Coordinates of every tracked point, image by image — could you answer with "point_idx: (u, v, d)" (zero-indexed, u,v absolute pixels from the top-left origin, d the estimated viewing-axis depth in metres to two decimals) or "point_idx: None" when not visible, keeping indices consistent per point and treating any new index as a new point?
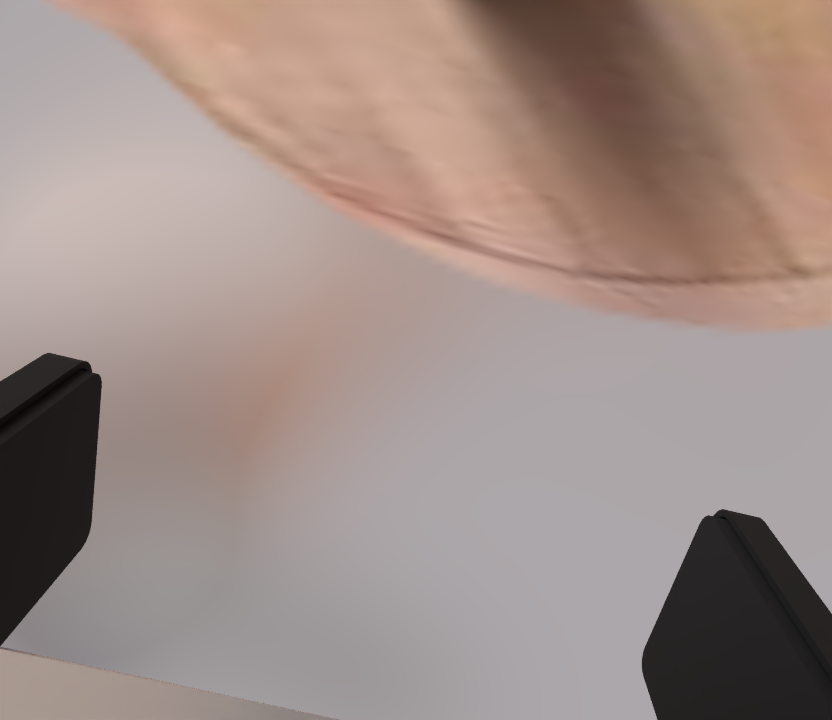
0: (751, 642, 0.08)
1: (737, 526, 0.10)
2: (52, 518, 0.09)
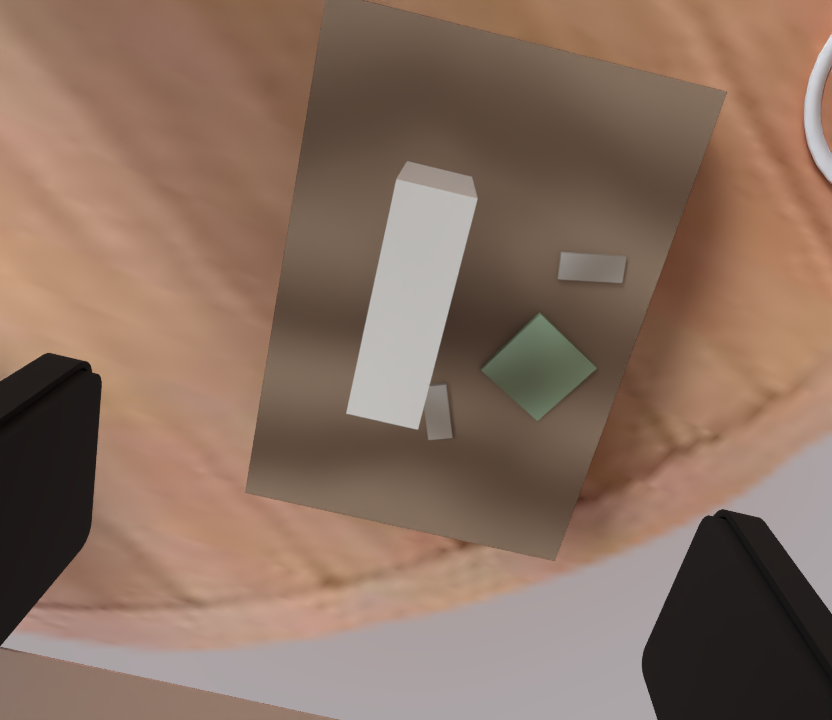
0: (751, 642, 0.08)
1: (737, 526, 0.10)
2: (52, 518, 0.09)
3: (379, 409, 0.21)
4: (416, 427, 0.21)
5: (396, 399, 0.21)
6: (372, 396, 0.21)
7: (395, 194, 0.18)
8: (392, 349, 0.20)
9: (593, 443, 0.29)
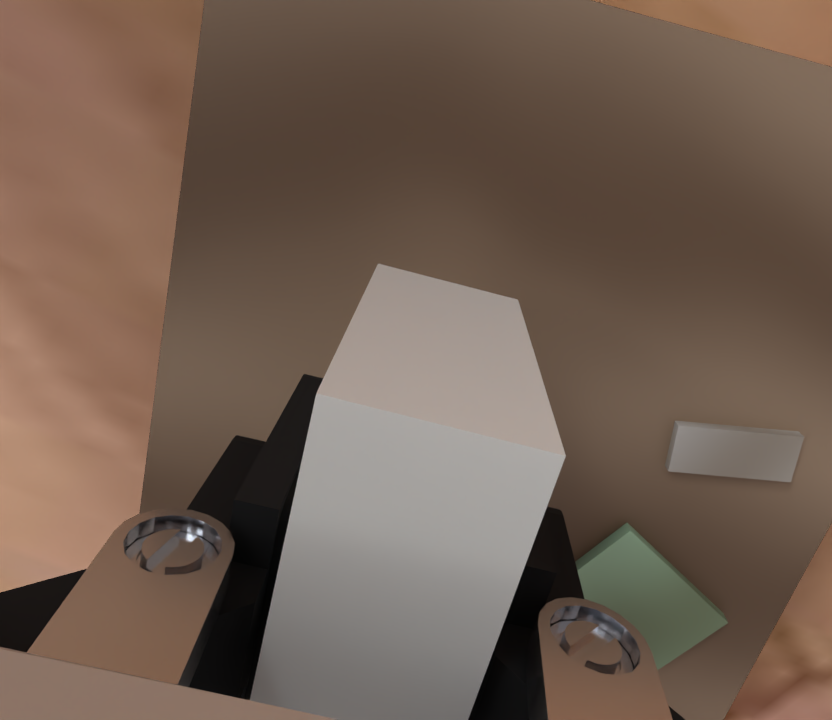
0: None
1: None
2: None
3: None
4: None
5: None
6: None
7: (313, 436, 0.06)
8: None
9: None
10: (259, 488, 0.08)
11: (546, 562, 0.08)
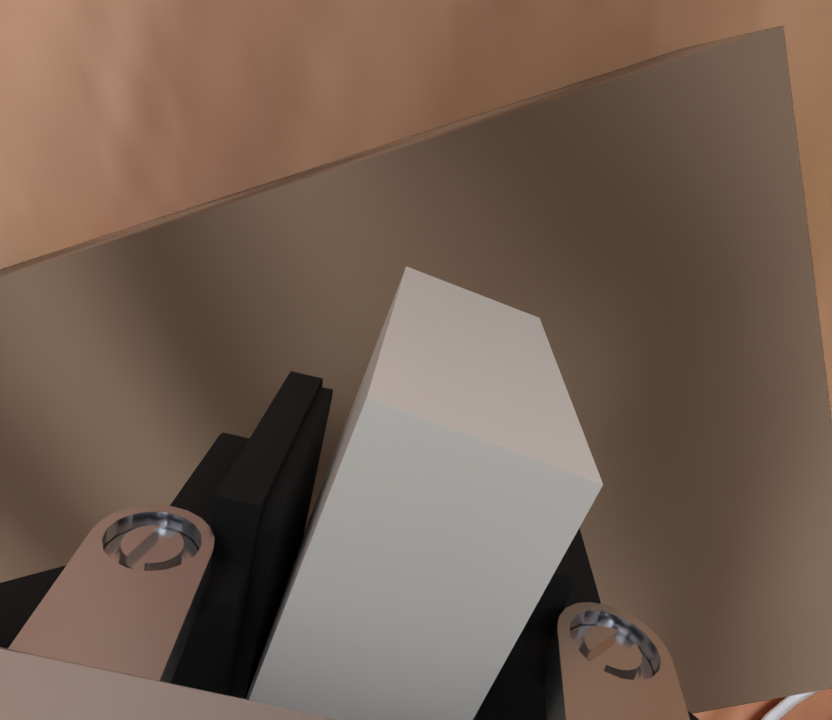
0: None
1: None
2: (301, 517, 0.11)
3: None
4: None
5: None
6: None
7: (358, 438, 0.06)
8: None
9: None
10: (241, 484, 0.08)
11: (564, 566, 0.08)
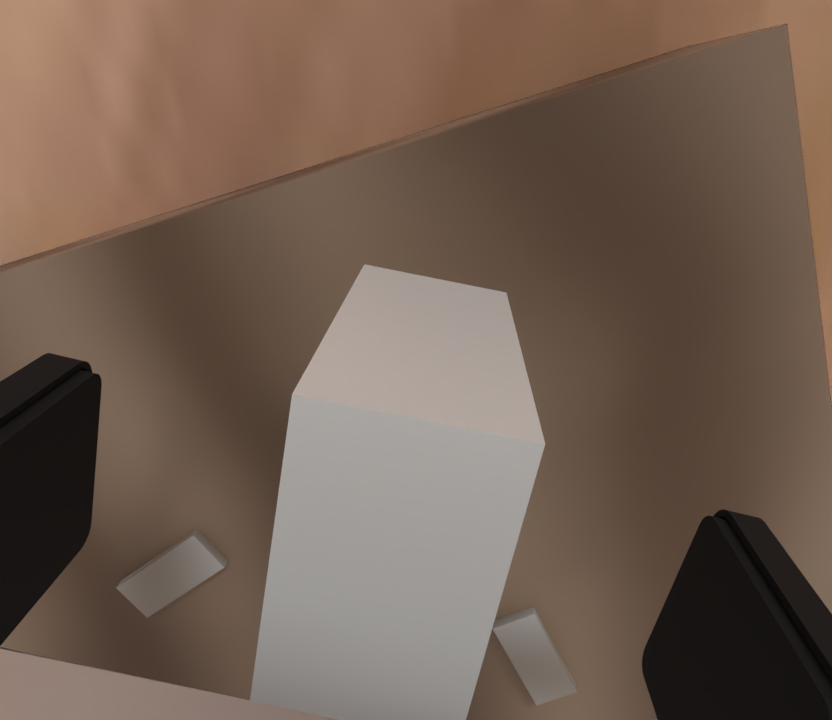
0: (751, 642, 0.08)
1: (737, 526, 0.10)
2: (52, 518, 0.09)
3: None
4: None
5: None
6: None
7: (292, 437, 0.06)
8: None
9: None
10: None
11: None
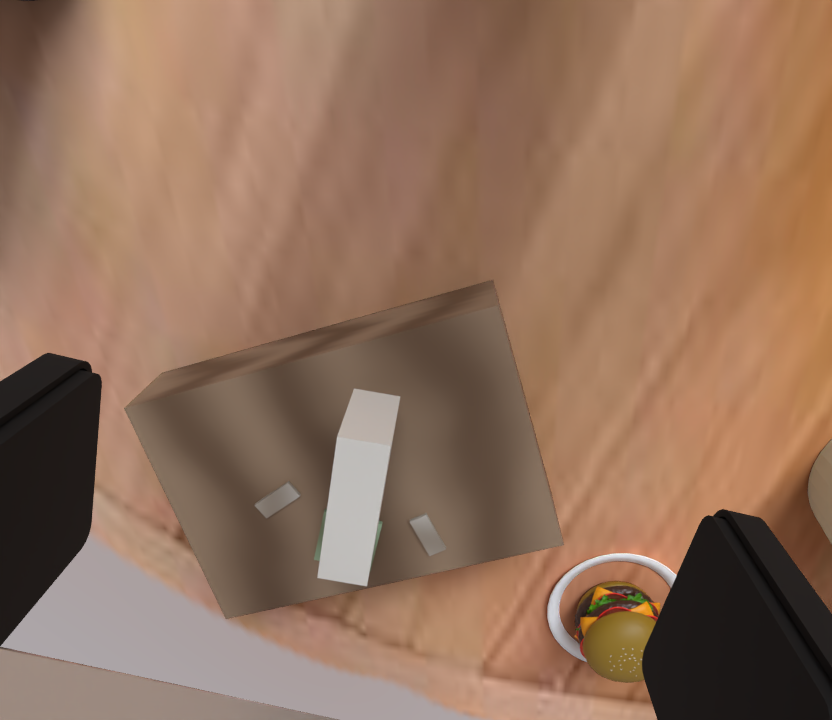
0: (751, 642, 0.08)
1: (737, 526, 0.10)
2: (52, 518, 0.09)
3: (339, 574, 0.31)
4: (365, 585, 0.31)
5: (350, 568, 0.30)
6: (334, 566, 0.30)
7: (337, 445, 0.28)
8: (344, 537, 0.30)
9: (321, 595, 0.40)
10: None
11: None
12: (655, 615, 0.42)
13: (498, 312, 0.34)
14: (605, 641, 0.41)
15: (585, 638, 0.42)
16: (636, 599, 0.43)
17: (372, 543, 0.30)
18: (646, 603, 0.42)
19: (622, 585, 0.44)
